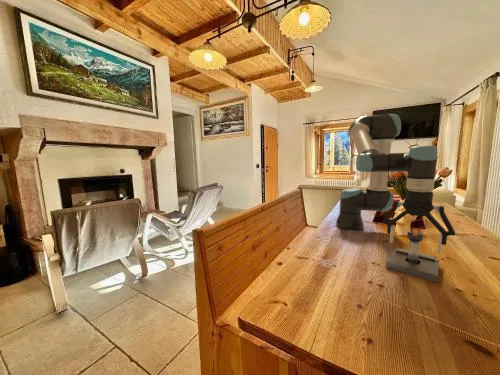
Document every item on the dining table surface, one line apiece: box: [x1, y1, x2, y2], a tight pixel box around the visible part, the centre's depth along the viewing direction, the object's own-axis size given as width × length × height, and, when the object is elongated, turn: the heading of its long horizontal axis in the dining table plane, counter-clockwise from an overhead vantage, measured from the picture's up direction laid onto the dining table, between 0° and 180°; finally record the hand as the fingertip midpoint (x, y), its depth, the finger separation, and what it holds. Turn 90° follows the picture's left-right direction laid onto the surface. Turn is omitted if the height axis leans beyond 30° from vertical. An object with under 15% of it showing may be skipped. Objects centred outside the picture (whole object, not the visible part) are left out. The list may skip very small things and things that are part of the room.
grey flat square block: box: [385, 246, 440, 284], centre depth 74 cm, size 14×14×4 cm
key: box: [406, 228, 424, 264], centre depth 74 cm, size 5×4×14 cm
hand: (413, 246), depth 74 cm, fingers open, 13 cm apart
